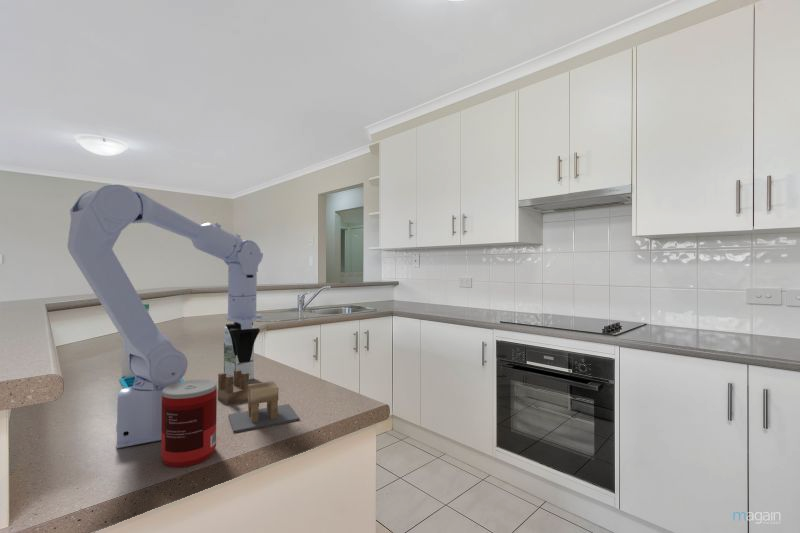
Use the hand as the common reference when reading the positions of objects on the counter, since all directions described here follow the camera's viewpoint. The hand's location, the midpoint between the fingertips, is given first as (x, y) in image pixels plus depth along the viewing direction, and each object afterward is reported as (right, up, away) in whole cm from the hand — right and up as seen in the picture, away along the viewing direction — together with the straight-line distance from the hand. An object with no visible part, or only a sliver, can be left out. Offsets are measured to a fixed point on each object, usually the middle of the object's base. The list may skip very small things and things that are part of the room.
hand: (241, 358), depth 81 cm
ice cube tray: (-24, -11, +8) cm, 28 cm away
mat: (+7, -10, -6) cm, 14 cm away
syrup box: (-9, -11, +20) cm, 25 cm away
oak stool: (+7, -10, -6) cm, 14 cm away
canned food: (+1, -10, -22) cm, 24 cm away
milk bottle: (-39, -11, +25) cm, 48 cm away
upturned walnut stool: (-4, -11, +5) cm, 12 cm away
